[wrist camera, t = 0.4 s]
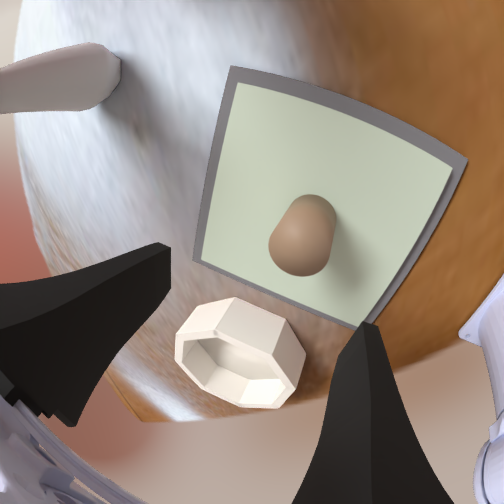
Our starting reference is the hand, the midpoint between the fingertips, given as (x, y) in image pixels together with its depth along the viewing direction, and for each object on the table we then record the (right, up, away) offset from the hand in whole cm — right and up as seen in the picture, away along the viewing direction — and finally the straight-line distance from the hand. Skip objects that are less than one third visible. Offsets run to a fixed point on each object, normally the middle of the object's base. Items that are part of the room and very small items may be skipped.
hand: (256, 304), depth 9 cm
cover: (+4, +4, +7) cm, 9 cm away
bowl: (-1, -7, +16) cm, 18 cm away
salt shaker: (-12, +16, +7) cm, 22 cm away
